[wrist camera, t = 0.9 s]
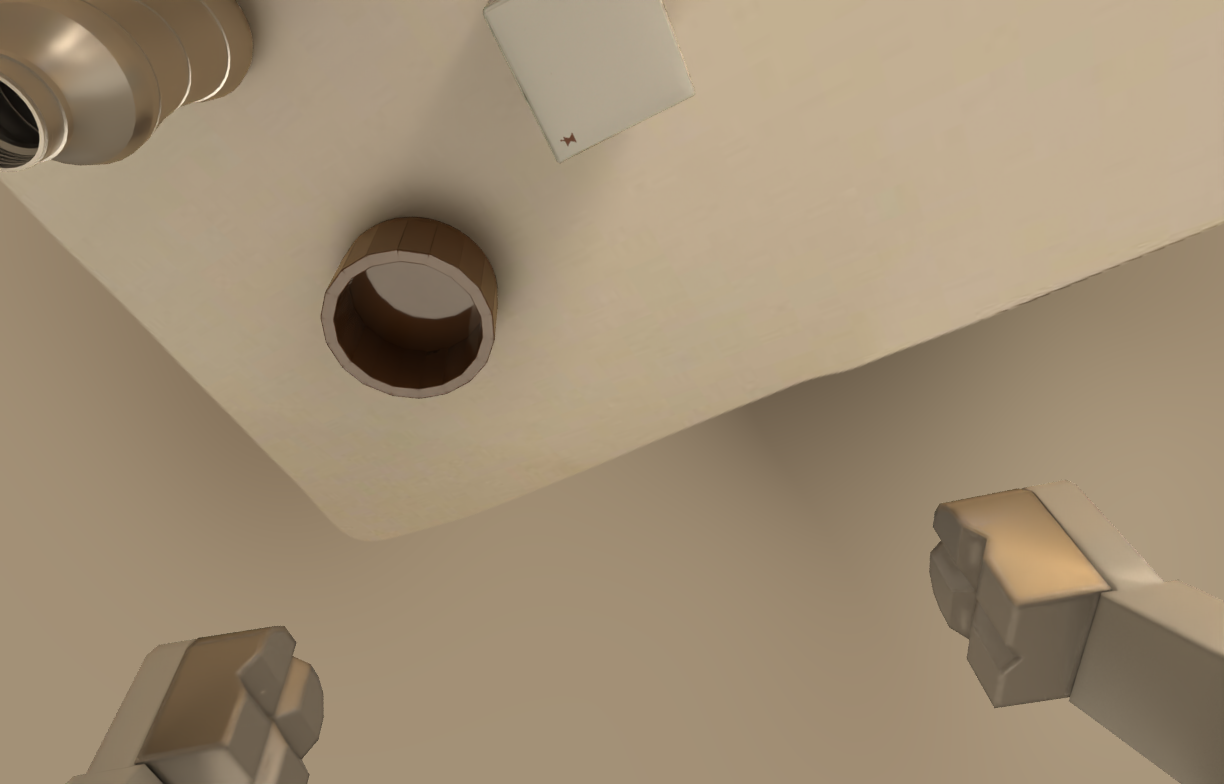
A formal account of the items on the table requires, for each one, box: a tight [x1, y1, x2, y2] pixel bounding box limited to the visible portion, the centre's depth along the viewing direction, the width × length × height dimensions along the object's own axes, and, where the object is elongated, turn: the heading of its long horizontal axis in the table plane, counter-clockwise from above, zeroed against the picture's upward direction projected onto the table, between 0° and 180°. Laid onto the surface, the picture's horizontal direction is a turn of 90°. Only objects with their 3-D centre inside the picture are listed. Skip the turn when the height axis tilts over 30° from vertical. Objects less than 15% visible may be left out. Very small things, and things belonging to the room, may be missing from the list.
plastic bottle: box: [0, 0, 253, 172], centre depth 34 cm, size 6×7×20 cm
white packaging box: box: [483, 0, 695, 163], centre depth 38 cm, size 7×7×13 cm
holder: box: [321, 217, 498, 399], centre depth 50 cm, size 11×11×6 cm
